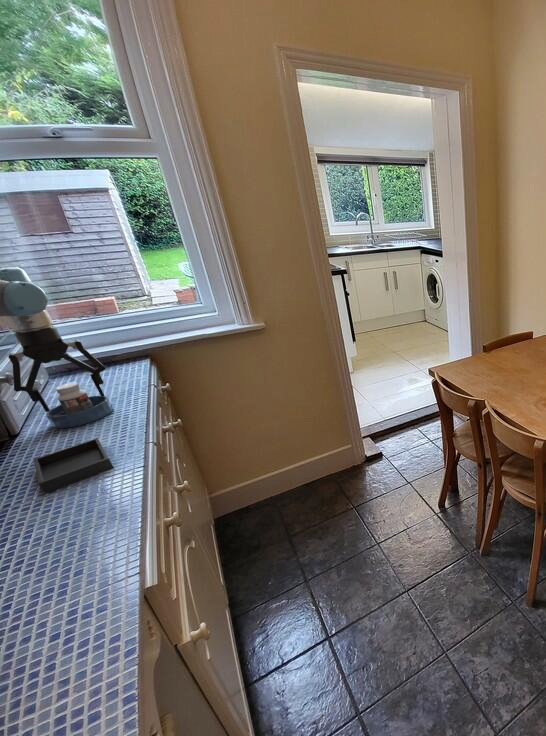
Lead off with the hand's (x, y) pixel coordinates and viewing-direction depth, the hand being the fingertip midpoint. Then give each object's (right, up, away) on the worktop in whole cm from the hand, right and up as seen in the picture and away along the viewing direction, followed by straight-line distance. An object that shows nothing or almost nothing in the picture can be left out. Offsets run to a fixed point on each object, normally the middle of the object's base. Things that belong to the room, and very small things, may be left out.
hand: (76, 402), depth 117 cm
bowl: (0, -5, +2) cm, 5 cm away
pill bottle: (0, -4, +2) cm, 5 cm away
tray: (+24, -14, -22) cm, 35 cm away
